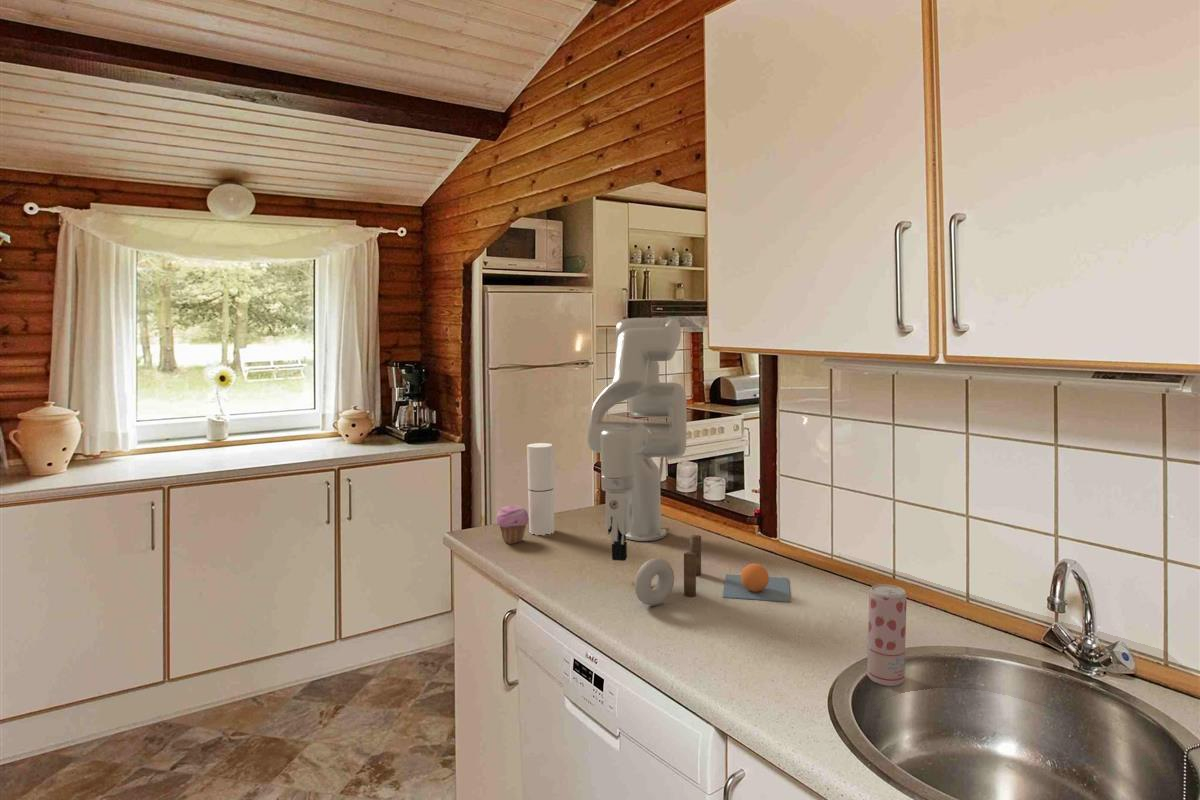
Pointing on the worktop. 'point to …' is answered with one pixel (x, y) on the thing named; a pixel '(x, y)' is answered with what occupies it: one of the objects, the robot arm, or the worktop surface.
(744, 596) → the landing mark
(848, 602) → the worktop surface
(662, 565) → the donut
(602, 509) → the worktop surface
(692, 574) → the post
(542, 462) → the cylindrical container
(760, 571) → the ball
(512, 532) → the cupcake
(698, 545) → the post
